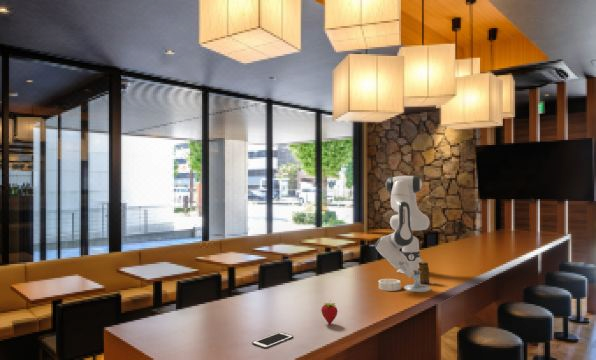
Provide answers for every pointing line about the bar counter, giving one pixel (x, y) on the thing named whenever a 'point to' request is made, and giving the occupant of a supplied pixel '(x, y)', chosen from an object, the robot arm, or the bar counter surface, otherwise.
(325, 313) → the strawberry
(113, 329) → the bar counter surface
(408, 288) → the lid
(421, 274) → the condiment
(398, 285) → the bowl
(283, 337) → the cell phone
